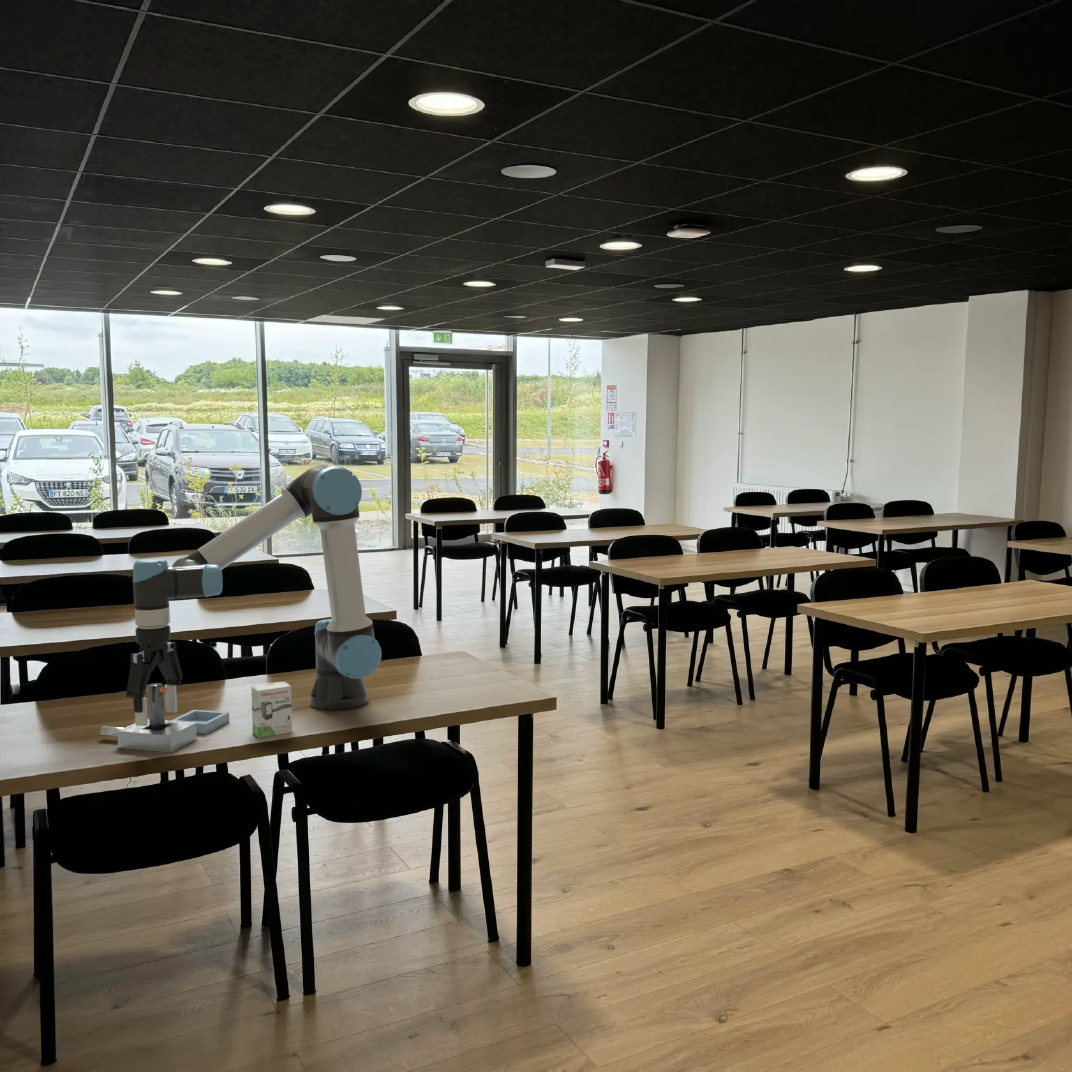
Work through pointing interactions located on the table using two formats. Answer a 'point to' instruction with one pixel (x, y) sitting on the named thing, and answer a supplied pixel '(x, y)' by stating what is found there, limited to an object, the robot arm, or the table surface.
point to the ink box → (271, 709)
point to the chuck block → (153, 736)
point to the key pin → (156, 706)
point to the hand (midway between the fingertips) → (156, 718)
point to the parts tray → (205, 720)
